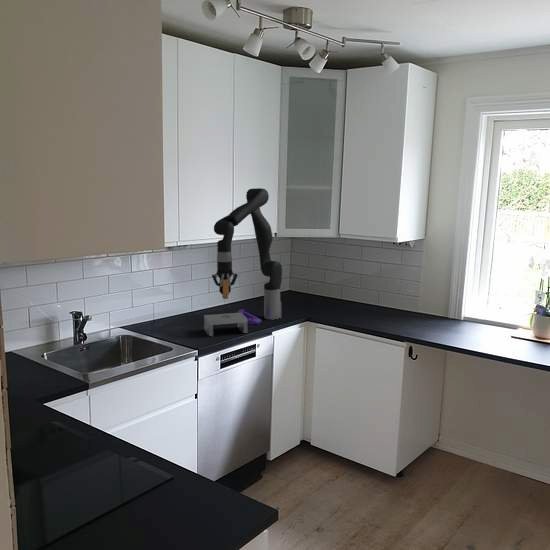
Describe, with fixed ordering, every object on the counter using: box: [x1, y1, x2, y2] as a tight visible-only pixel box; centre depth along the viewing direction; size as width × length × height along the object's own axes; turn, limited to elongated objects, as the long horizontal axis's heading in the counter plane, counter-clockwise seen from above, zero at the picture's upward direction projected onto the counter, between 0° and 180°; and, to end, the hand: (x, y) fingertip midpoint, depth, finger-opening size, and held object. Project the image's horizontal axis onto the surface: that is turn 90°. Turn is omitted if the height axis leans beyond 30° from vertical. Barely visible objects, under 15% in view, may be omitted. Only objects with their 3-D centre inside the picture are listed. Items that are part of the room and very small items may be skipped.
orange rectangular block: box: [221, 279, 230, 300], centre depth 286 cm, size 3×4×10 cm, turn 18°
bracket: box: [236, 308, 262, 325], centre depth 309 cm, size 12×7×7 cm, turn 75°
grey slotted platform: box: [203, 312, 249, 337], centre depth 289 cm, size 20×14×8 cm
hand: (225, 293), depth 287 cm, fingers closed on orange rectangular block, 3 cm apart
